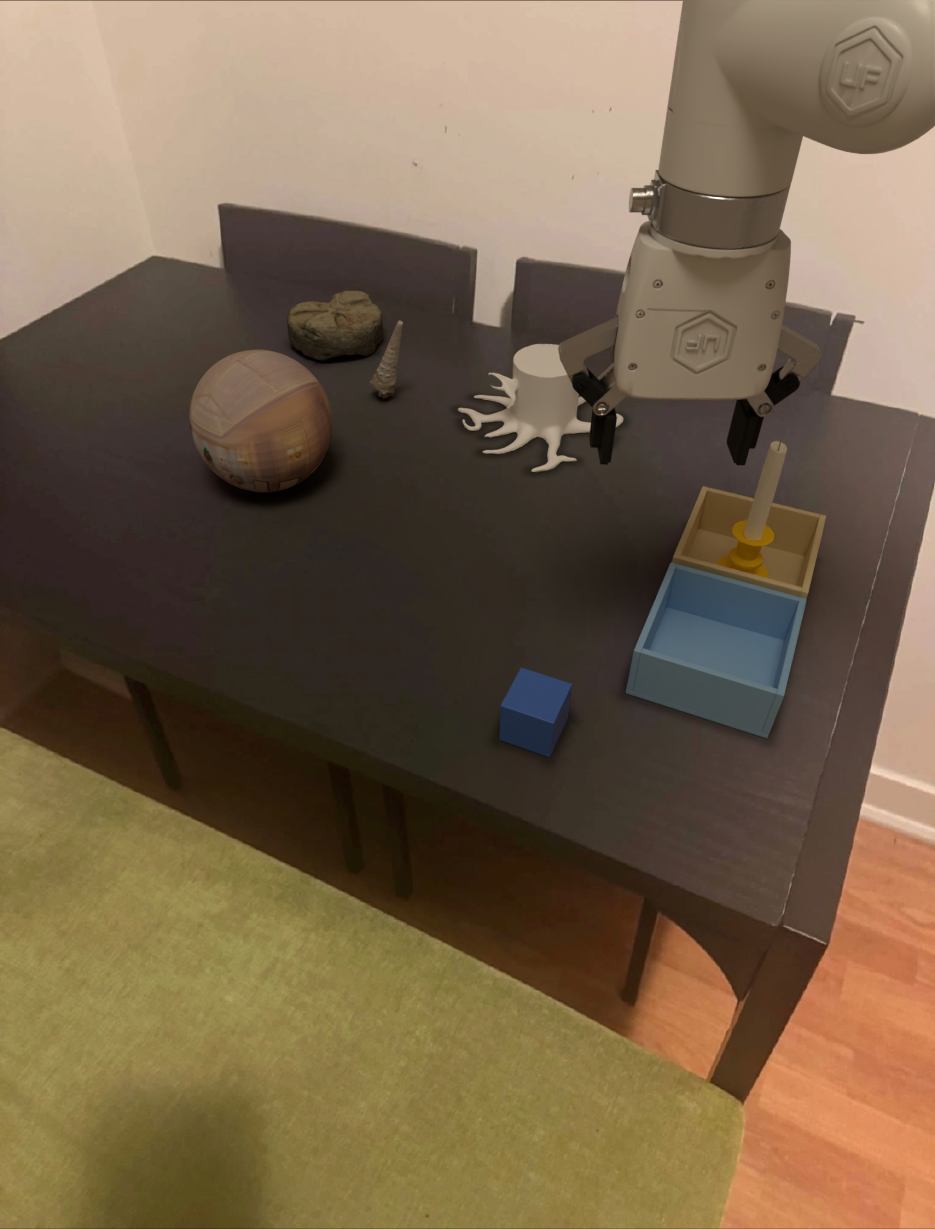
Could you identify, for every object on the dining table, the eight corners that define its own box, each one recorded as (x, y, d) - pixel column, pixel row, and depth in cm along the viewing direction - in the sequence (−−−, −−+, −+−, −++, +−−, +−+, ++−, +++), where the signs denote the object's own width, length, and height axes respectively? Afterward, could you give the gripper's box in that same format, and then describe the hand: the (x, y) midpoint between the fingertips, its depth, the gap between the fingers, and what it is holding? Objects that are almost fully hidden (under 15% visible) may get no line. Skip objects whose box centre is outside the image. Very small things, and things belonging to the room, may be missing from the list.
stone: (278, 333, 123) (272, 298, 119) (364, 314, 127) (361, 279, 124) (307, 375, 115) (301, 338, 111) (398, 353, 119) (396, 316, 115)
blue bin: (790, 642, 79) (807, 598, 75) (767, 738, 71) (784, 696, 67) (661, 605, 82) (670, 561, 79) (625, 693, 74) (633, 650, 71)
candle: (778, 582, 84) (824, 448, 73) (736, 599, 82) (777, 463, 71) (744, 552, 87) (783, 418, 76) (703, 567, 86) (737, 433, 75)
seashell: (376, 390, 112) (369, 308, 104) (413, 397, 110) (408, 314, 103) (366, 401, 110) (358, 319, 102) (403, 409, 108) (398, 325, 101)
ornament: (332, 436, 104) (317, 318, 93) (345, 510, 93) (330, 386, 83) (206, 450, 102) (176, 331, 91) (205, 528, 91) (171, 403, 81)
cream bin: (810, 558, 87) (826, 515, 84) (792, 636, 79) (808, 593, 76) (693, 527, 91) (702, 485, 87) (663, 599, 83) (672, 556, 79)
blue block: (568, 718, 73) (572, 683, 69) (549, 758, 70) (553, 723, 66) (518, 701, 74) (521, 666, 71) (499, 740, 71) (500, 705, 68)
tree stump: (445, 394, 111) (444, 335, 105) (583, 371, 115) (589, 313, 109) (496, 480, 97) (497, 418, 91) (650, 451, 101) (660, 389, 96)
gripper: (575, 232, 48) (553, 484, 60) (886, 234, 48) (801, 485, 60) (565, 186, 53) (547, 425, 65) (844, 187, 53) (774, 427, 65)
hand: (669, 454), depth 62 cm, fingers open, 9 cm apart
